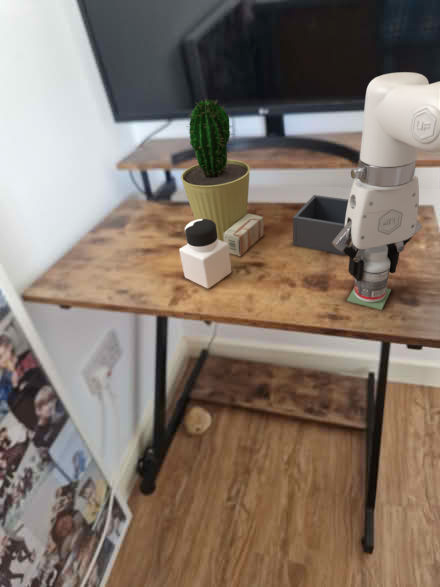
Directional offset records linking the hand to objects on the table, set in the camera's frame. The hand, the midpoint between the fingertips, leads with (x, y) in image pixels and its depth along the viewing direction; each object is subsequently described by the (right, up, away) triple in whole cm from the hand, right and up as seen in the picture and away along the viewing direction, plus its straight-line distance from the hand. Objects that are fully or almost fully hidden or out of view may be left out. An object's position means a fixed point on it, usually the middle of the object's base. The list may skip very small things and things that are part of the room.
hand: (372, 271), depth 69 cm
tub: (-2, +9, +21) cm, 23 cm away
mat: (+1, -4, +3) cm, 5 cm away
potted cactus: (-25, +11, +29) cm, 40 cm away
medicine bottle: (-29, 0, +15) cm, 32 cm away
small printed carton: (-24, +7, +18) cm, 30 cm away
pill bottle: (+1, -4, +3) cm, 5 cm away
